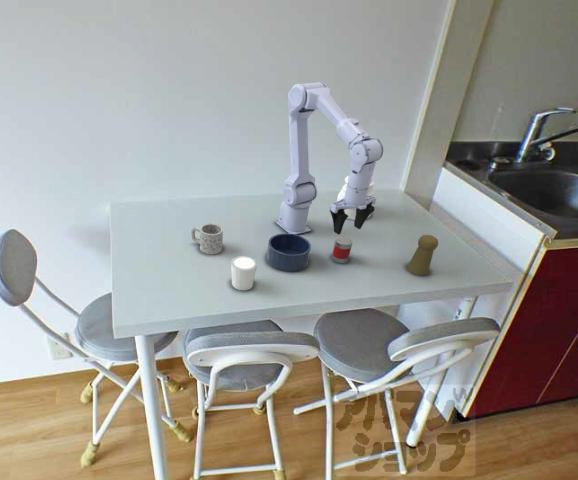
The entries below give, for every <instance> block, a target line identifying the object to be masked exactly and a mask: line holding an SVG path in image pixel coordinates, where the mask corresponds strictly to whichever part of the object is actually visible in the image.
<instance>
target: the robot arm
mask: <svg viewBox="0 0 578 480" xmlns="http://www.w3.org/2000/svg"><path fill="white" fill-rule="evenodd" d="M287 103H288V105H287V106H288V133H289V135H288V137H289V157H290V174H289V176H288V177H287V178H286V179H285V181H284V185H283V186H284V188H283V191H282V198H283V201H282V202H281V203H280V206H279V214H278V220H277V221H275V223H276V224H277V225H278V226H279V227H281V228H282V229H283V230H284V231H285V232H286V233H289V234H295V235H300V234H304V233H305V234H306V233H308V232H311V230H312V229H311V227H308V226H307V222H308V217H309V211H310V205H312V204H313V201H314V200H316V198H317V196H318V187H317V185H316V178H315V177H314V176H313V175H312V174H311V173H310V164H309V163H310V162H309V161H310V160H309V132H308V131H309V130H308V119H309V118H310V116H311V115H312V114H313V113H314V112H315V111H317V110H318V111H320V112H321V114H323V116H324V117H325V118H326V119H328V120H329V122H331V124H332V125H333V126H334V127H335V128H336V131H335V134H336V136H337V137H338V139H339V140H340V141H341V143H343V145H344V147H346V148H347V149H348V150H349V159H350V165H349V167H350V171H349V175H348V176H349V179H348V184H347V188H346V192H345V197H344V198H343V199H341V200H339V201H337V200H336V201H337V202H333V203H331V204H330V208H329V212H330V215H331V218H332V223H333V224H332V225H333V232H334V234H337V235H338V236H339V235H341V233H342V231H343V228H344V224H345V223H346V220H348V218H347V217H348V215H347V214H345V211H344V210H345V209H350V208H356V217H355V220H354V223H353V226H354V228H356V229H357V230H361V229H362V227H363V225H364V224H365V222H366V220H367V219H369V218H368V216H369V215H370V214H371V215H372V213H374V211H375V208H376V207H375V206H374V205H375V204H376V202H377V197H376V196H372V195H369V196H367V193H368V190H369V186H370V182H371V179H373V174H374V170H375V167H376V162H378V161H379V160H381V159H382V157H383V155H384V145H383V143H382V142H381V139H379V138H377V137H372V136H371V135H370V134H369V133H368V132H366V131H365V129H364V128H363V127H362V126H361V125H360V121H359V120H358V119H357V118H356V119H355V118H353V117H349V118H348V117H347V116H346V114H345V113H344V111H343V110H342V109H341V108H340V106H339V105H338V103H337V101H336V100H335V99H334V98H333V96H332V89H331V87H328V85H327V84H326V83H325V82H324V81H318V82H308V83H296V84H294V85H293V86H292V87H291V88H290V90H289V91H288V93H287ZM372 205H373V206H372ZM371 215H370V216H371Z"/></svg>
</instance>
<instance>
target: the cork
mask: <svg viewBox="0 0 578 480" xmlns="http://www.w3.org/2000/svg"><path fill="white" fill-rule="evenodd" d="M417 245H418V246H417V248H416V250H415V252H414V253H413V255H412V257H411V259H410V261H409V262H408V264H407V266H406V269H407V271H409V272H410V273H411V274H413V275H417V276H422V277H423V276H427V275H428V274H429V272H430V267H431V263H432V259H433V255H434V251H435V250H436V249H437V248H438V246H439V240H438V238H437V237H436V236H434V235H431V234H423V235H421V236H420V237H419V238H418V241H417Z"/></svg>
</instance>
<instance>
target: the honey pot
mask: <svg viewBox="0 0 578 480" xmlns="http://www.w3.org/2000/svg"><path fill="white" fill-rule="evenodd" d="M348 179H349V175H347V176H346V177H345V178H344V182H345V183H344V184H343V186H342V188H341V189H340V192H338V194H337V198H336V202H337V201H339V200H341V199H343V198H344V197H345V192H346V188H347V184H348ZM374 186H375V182H374V180H373V178H371V182H370V186H369V190H368V193H367V196H369V195H372V196H374V193H375V191H374ZM374 197H375V196H374ZM336 202H335V203H336ZM372 206H374V204H373V205H372ZM344 211H345V214H347V215H348V217H347V220H348V219H349V220H354V221H355V217H356V208H350V209H345V210H344ZM371 215H372V213H371V214H370V215H369V216H368V218H367V219H369V218H370V217H371Z"/></svg>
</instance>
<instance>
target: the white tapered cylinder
mask: <svg viewBox="0 0 578 480" xmlns="http://www.w3.org/2000/svg"><path fill="white" fill-rule="evenodd" d="M230 265H231V266H230V267H231V268H230V269H231V270H230V271H231V285H232V287H233V288H234V289H236V290H239V291H248V290H251V289H252V288H253V286H254V280H255V277H256V271H257V268H258V262H257V260H256V259H254V258H253V257H251V256H248V255H239V256H236V257H233V258H232V259H231V262H230Z"/></svg>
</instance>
